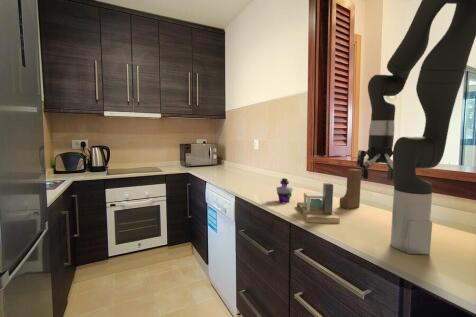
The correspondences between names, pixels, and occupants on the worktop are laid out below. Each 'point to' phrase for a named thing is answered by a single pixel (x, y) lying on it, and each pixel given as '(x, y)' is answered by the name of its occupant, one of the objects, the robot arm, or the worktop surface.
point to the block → (315, 203)
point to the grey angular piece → (326, 199)
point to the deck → (317, 215)
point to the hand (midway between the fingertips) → (377, 179)
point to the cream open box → (311, 195)
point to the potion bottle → (284, 191)
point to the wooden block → (352, 190)
